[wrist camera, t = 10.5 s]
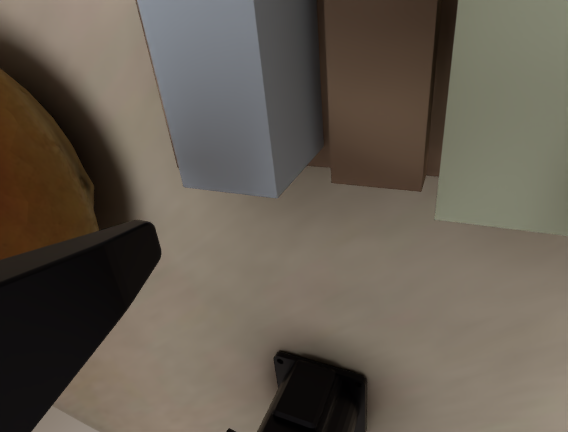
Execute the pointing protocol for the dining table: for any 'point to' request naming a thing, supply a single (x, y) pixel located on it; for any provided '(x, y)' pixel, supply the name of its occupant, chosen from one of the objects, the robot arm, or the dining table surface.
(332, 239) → the dining table surface
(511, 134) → the sage block
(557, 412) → the dining table surface
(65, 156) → the ceramic pitcher
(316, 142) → the slate block
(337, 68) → the slot rack
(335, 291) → the dining table surface
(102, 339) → the robot arm
